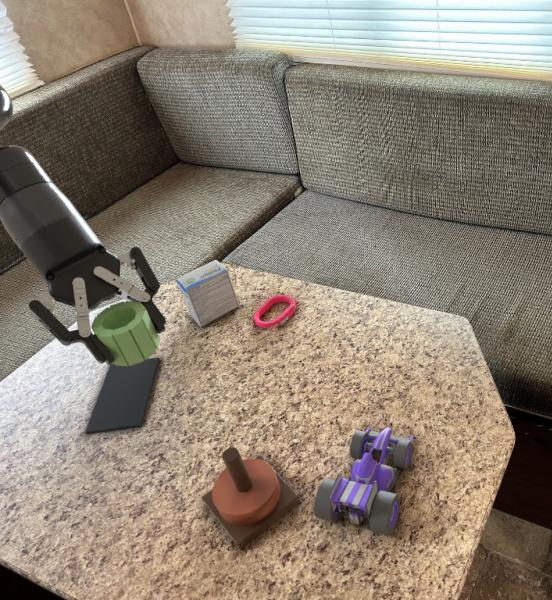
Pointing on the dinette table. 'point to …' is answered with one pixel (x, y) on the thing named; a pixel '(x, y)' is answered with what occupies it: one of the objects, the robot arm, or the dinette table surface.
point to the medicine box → (208, 292)
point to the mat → (123, 397)
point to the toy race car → (367, 482)
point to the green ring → (127, 332)
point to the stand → (248, 497)
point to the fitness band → (281, 318)
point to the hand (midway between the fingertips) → (137, 346)
